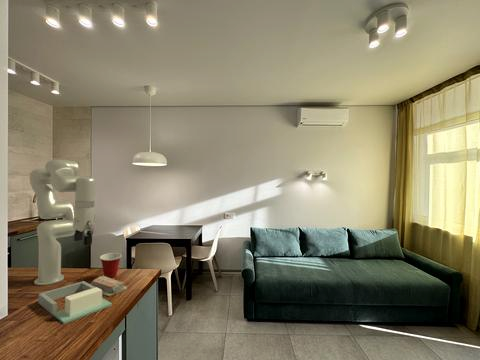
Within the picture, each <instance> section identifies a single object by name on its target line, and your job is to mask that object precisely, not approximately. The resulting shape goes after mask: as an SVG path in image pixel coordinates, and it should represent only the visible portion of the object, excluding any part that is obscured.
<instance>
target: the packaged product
mask: <svg viewBox="0 0 480 360" xmlns="http://www.w3.org/2000/svg"><path fill="white" fill-rule="evenodd" d="M90 283H91V284H90V285H92V286H94V287H97V288H99V289H101V290H102V296H106V297H111V296H114V295H117V294H118V293H121V292H123V291H126V290H127V289H128V286H125V285H124V282H122V281H121V280H117V279H115V278H112V279H111V278H108V277H106V276H104V275H100V276H98V277H97V278H95V279H93V280H92V281H91V282H90Z"/></svg>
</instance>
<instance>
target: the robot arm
mask: <svg viewBox="0 0 480 360" xmlns="http://www.w3.org/2000/svg"><path fill="white" fill-rule="evenodd" d="M79 170H80V167H79V164H78V162H76V161H74V160H69V159H57V158H56V159H51V160H48V161H46V163H45V165H44V167H43V168H36V169H33V170H32V171H31V172H30V174H29V183H30V186H31V189H32V190H33V193H34V195H35V198H36V199H35V200H36V207H37V208H36V209H37V212H38V213H37V214H38V217H39V218H40V219H42V220H43V219H44V220H46V221H43V222H42V221H41V222H40V223H39V224H38V225H37V227H36V234H37V241H38V271H37V278H36V279H35V280H34V281H33V283H34V285H37V286H46V285H52V284H56V283H59V282H61V281H63V280H64V279H65V276H64V275H63V274H62V273H61V272H62V269H61V268H62V245H61V243H60V242H59V241H58V240H57V239H60V238H65V237H71V236H74V239H73V240H74V241H75V242H78V241H82V240H83V246H89V245H92V244H93V235H94V231H95V226H94V209H95V199H96V198H95V195H96V179H95V178H94V177H88V176H79V175H78V173H79V172H80V171H79ZM49 185H51V187H52V188H53V189H52V188H51V187H50V186H49ZM55 191H57V192H59V193H67V194H68V193H74V194H75V195H74V205H73V203H72V202H71V201H69V200H57V196H56V193H55ZM52 219H53V220H52ZM54 219H55V220H54ZM83 233H84V235H83Z"/></svg>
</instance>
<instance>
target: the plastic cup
mask: <svg viewBox="0 0 480 360" xmlns="http://www.w3.org/2000/svg"><path fill="white" fill-rule="evenodd" d="M121 258H122V254H121V253H118V252H110V253H109V252H108V253H103V254H102V255H100V256H99V259H100V262H101V264H102V265H101V266H102V267H101V268H102V272H103V276H106V277H108V278H111V279H115V278H116V277H117V273H118V271H119V264H120V260H121Z"/></svg>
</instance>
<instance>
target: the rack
mask: <svg viewBox="0 0 480 360" xmlns="http://www.w3.org/2000/svg"><path fill="white" fill-rule="evenodd" d="M92 288H96V287H94V286H92V284H90V283H89V282H87V281H84V280H82V281H79V282H75V283H72V284H68V285H64V286H62V287H57V288H55V289H51V290H48V291H44V292H41V293H38V301H37V302H38V304H39V305H40V306H41V307H43V309H45V310H46V311H47V312H49V313H50V314H51V315H53V313H56V312H58V303H57V302H56V301H55V300H58V299H60V298H65V297H67V296H70V295H73V294H76V293H79V292H83V291H86V290H89V289H92Z"/></svg>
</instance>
